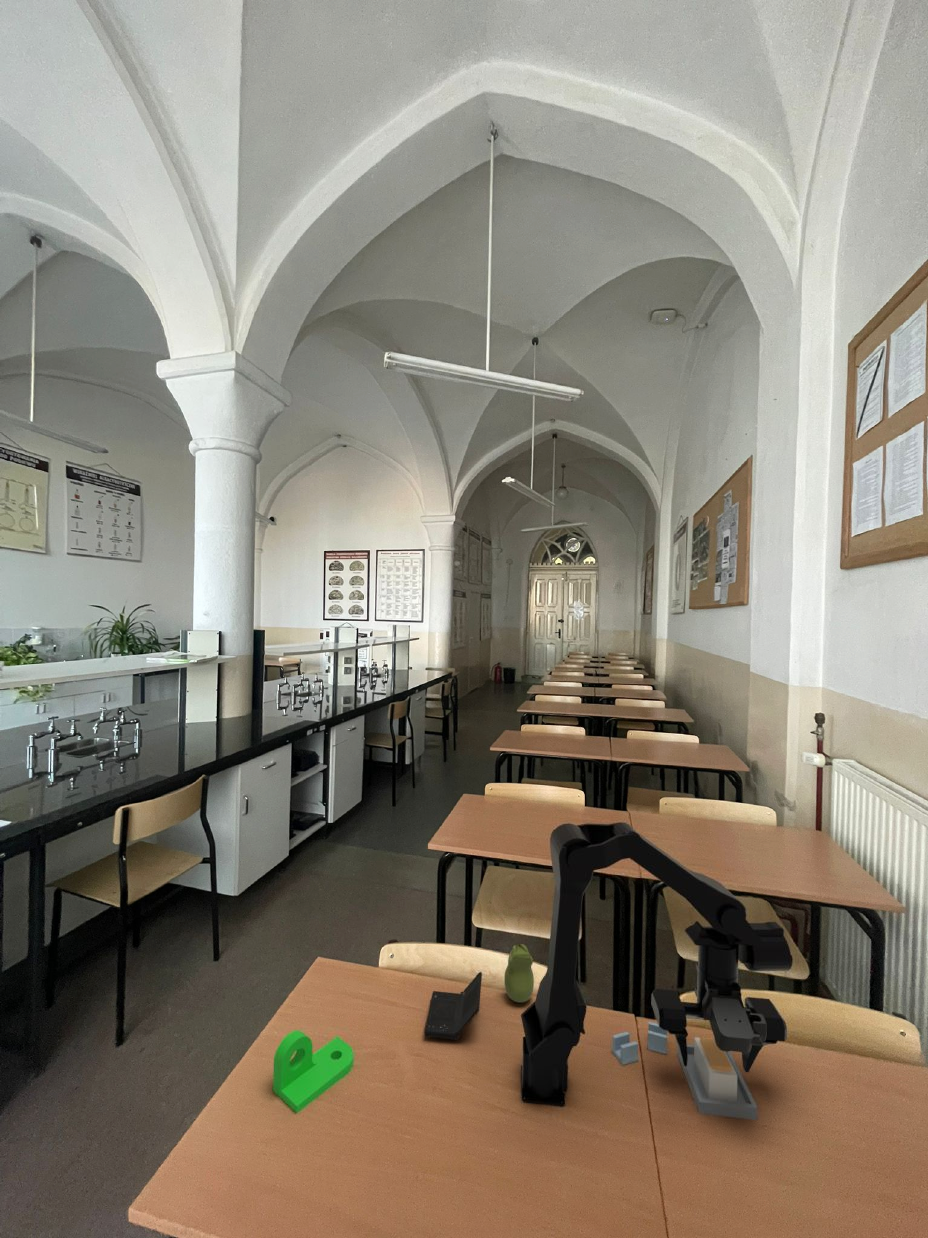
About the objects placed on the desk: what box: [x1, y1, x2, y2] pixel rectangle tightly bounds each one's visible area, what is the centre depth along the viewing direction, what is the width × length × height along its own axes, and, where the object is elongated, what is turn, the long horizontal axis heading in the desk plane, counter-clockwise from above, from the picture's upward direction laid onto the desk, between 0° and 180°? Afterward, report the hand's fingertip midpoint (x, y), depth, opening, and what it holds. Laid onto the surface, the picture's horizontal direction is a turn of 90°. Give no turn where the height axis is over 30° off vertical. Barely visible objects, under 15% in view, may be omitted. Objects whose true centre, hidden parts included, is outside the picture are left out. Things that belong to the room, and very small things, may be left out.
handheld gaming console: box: [423, 971, 483, 1041], centre depth 98 cm, size 12×7×10 cm
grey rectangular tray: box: [676, 1043, 759, 1121], centre depth 85 cm, size 8×11×2 cm
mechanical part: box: [272, 1029, 354, 1114], centre depth 85 cm, size 12×6×8 cm, turn 142°
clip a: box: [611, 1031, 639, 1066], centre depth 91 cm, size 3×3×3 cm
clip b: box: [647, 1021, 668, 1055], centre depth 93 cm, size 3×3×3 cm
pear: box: [503, 943, 535, 1004], centre depth 104 cm, size 6×5×10 cm
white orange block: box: [693, 1036, 737, 1102], centre depth 85 cm, size 4×7×5 cm, turn 175°
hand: (714, 1067), depth 85 cm, fingers open, 9 cm apart
